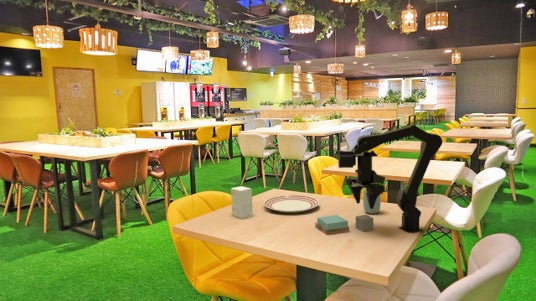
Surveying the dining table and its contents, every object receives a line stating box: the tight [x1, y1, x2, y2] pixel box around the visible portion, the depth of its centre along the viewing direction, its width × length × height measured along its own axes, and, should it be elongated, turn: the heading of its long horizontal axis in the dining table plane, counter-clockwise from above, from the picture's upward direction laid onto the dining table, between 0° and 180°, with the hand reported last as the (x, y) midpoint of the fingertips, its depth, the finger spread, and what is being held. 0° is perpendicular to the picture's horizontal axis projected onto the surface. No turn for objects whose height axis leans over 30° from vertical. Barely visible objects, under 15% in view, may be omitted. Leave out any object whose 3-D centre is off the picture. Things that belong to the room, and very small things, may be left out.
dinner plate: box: [263, 194, 320, 214], centre depth 188 cm, size 27×27×3 cm
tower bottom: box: [314, 222, 350, 236], centre depth 154 cm, size 10×10×2 cm
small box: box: [230, 185, 254, 219], centre depth 175 cm, size 8×6×13 cm
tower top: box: [316, 214, 349, 230], centre depth 153 cm, size 9×9×2 cm
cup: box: [362, 189, 382, 215], centre depth 175 cm, size 8×8×10 cm
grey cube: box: [355, 214, 374, 233], centre depth 153 cm, size 5×5×5 cm
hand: (364, 206), depth 152 cm, fingers open, 9 cm apart
